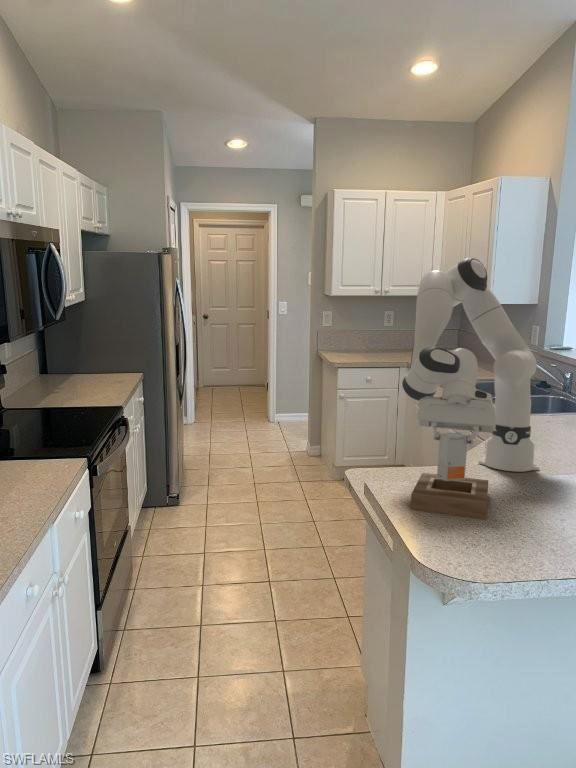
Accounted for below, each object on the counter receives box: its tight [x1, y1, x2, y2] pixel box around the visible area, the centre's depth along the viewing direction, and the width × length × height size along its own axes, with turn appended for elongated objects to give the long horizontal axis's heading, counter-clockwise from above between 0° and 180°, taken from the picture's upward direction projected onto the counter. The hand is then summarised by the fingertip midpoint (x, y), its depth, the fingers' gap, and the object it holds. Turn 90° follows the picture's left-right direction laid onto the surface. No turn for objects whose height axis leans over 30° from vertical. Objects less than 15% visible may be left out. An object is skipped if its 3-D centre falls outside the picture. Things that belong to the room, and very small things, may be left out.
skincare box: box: [436, 432, 468, 481], centre depth 151 cm, size 6×4×12 cm
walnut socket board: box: [410, 472, 489, 520], centre depth 152 cm, size 22×18×4 cm
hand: (453, 440), depth 150 cm, fingers closed on skincare box, 7 cm apart
